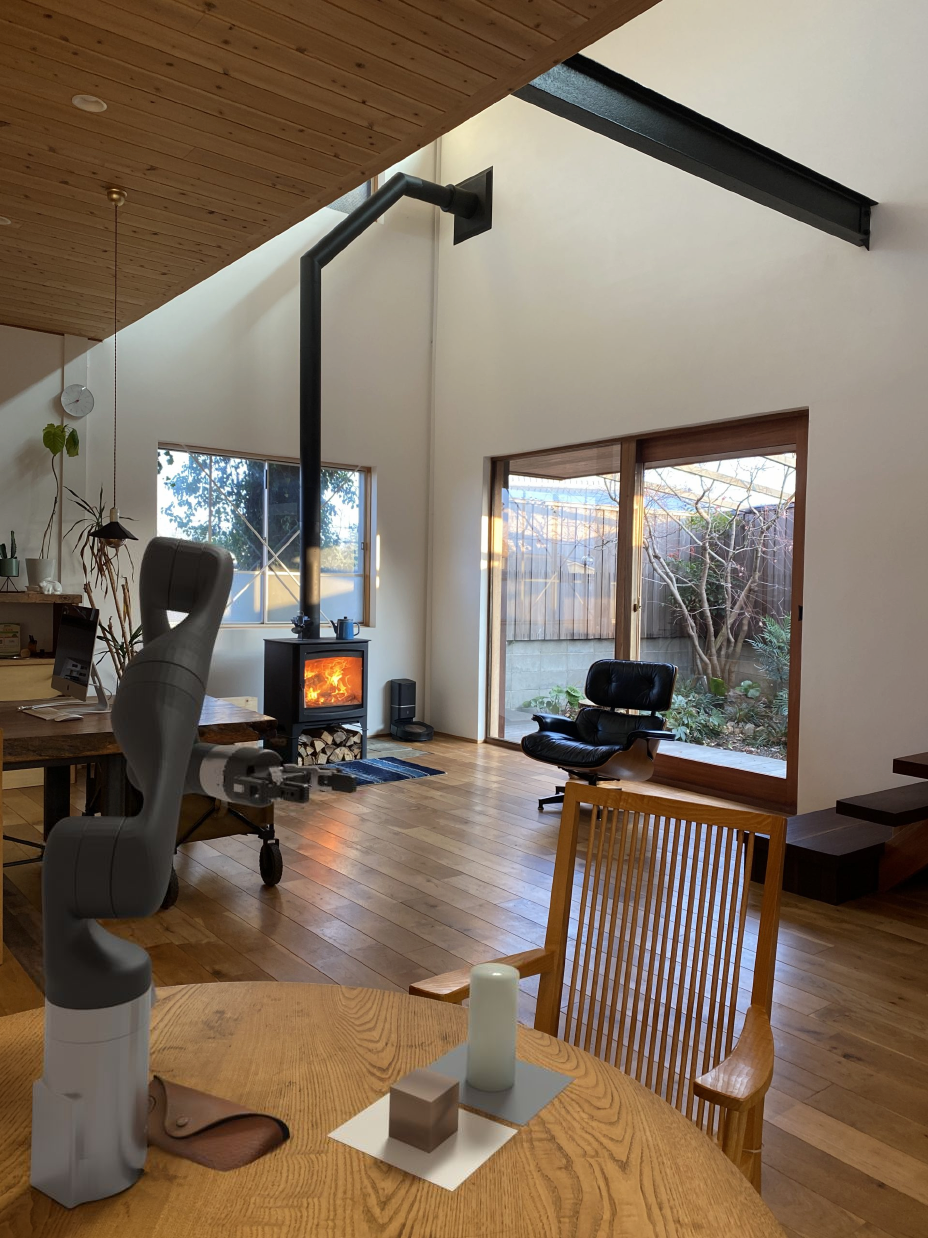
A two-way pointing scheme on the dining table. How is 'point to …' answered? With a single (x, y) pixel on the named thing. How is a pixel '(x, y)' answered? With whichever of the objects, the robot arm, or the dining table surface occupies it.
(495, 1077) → the pale green pillar candle
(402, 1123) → the walnut block
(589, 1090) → the dining table surface
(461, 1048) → the slate mat
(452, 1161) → the cream mat
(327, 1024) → the dining table surface
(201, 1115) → the sunglasses case
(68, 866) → the robot arm
